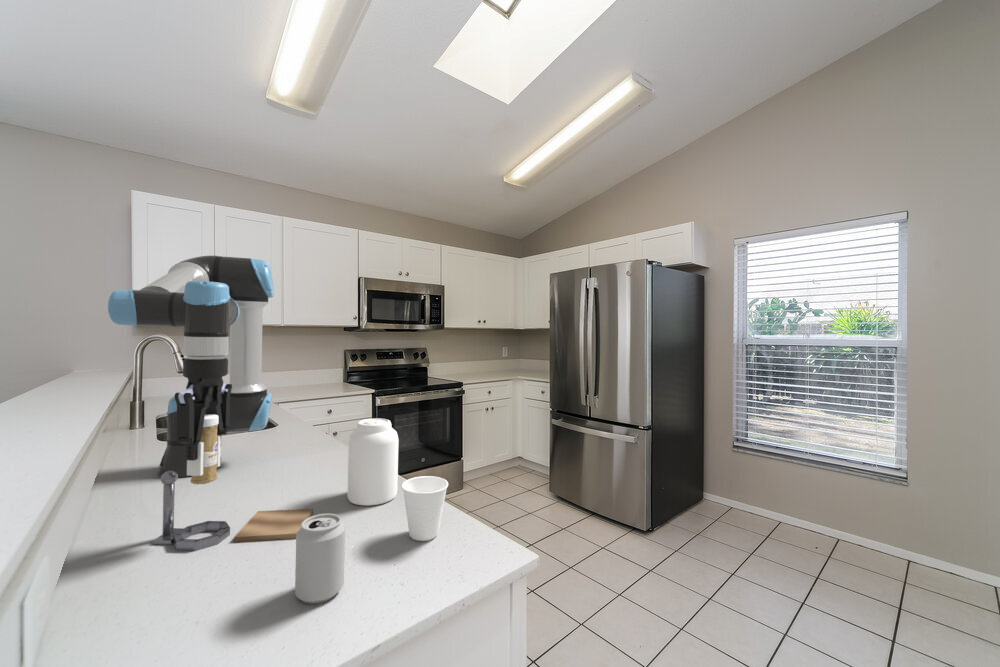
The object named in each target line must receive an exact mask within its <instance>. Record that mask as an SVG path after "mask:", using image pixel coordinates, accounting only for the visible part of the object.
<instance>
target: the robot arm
mask: <svg viewBox="0 0 1000 667" xmlns="http://www.w3.org/2000/svg"><path fill="white" fill-rule="evenodd" d="M274 288H275V287H274V280H273V273H272V268H271V266H270V264H269V263H268V261H267V260H263V259H256V258H251V257H249V258H248V257H234V256H233V257H232V256H219V255H203V256H202V255H201V256H196V257H192V258H187V259H185V260H182V261H180V262H177V263H175V264H174V265H172V266H171V267H170V268H169V269H168V272H167V273H166V274H164V275H163V276H161V277H159V278H157V279H156V280H154V281H153V282H151V283H149V284H147V285H145V286H144V287H143V288H141V289H138V290H137V289H131V288H129V289H116V290H114V291H113V292H111V294H110V296H109V297H108V301H107V310H108V316H109V318H110V320H111V321H112V322H113V323H114V324H116V325H119V326H133V327H140V326H141V327H179V328H180V327H183V356H184V357H186V358H184V360H182V376H183V377H184V378H186V379H187V380H188V381H187V384H186V387H185V390H183V391H182V392H175V394H174V396H173V397H171V398H170V399H169V401H168V403H167V411H166V414H167V415H166V416H167V418H166V419H167V420H166V424H167V425H166V426H167V429H166V448H165V450H164V453H163V455H162V456H161V460H160V463H159V464H158V475H159V476H160V477H161V476H162V475H163V474H164V473H165V472H167V471H175V472H176V473H177V474H178V478H187V477H192V476H201V475H203V454H204V442H200V440H201V435H202V429H203V423H204V417H205V415H206V414H215V415H218V417H219V423H218V426H217V469H219V468H221V466H222V455H221V451H222V450H221V448H222V435H227V434H228V433H236V432H237V433H238V432H251V431H261V430H263V429H265V428H266V427H267V424H268V421H269V417H270V412H271V407H272V401H273V400H272V399H273V394H272V393H271V392H268V389H267V386H266V385H265V384H264V383H263V382H262V378H263V376H262V375H263V373H262V372H263V371H262V368H263V356H262V355H263V313H264V307H265V306H267V305H268V304H269V299H271V298H273V297H274V295H275V292H274V291H275V290H274ZM229 332H230V333H229ZM228 355H229V359H228V358H226V356H228ZM228 373H229V383H224V380H223V377H226V376H227V375H228Z"/></svg>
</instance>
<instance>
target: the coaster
mask: <svg viewBox="0 0 1000 667" xmlns="http://www.w3.org/2000/svg"><path fill="white" fill-rule="evenodd" d="M313 513H314V508H302V509H301V508H299V509H298V508H297V509H280V510H279V509H278V510H259V511H258V510H257V512H256V513H255V514H254V515H253V516H252V517H251V518H250V519H249V521H248V522H247V523H246V524H245V525H244V526H243V527H242V528H241V529H240V530H239V531H238V532H237V534H235V536H234V537H233V540H234V541H233V542H234V543H238V542H239V543H240V542H241V543H243V542H257V541H258V542H259V541H272V540H273V541H274V540H290V539H293V540H294V539H296V534H297V532H298V531H299V529H300V528H301V524H302V522H303V521H304V520H306V519H307V518H309V517H312V516H313Z"/></svg>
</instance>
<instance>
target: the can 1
mask: <svg viewBox="0 0 1000 667" xmlns="http://www.w3.org/2000/svg"><path fill="white" fill-rule="evenodd" d="M342 521H343V520H342V517H341V516H339V515H338V514H335V513H318V514H315V515H311V517H309V518H307V519H306V520H304V521H303V522H302V524H301V528H300V529H299V531H298V532H297V534H296V538H295V569H294V573H295V577H294V579H295V580H294V581H295V582H294V593H295V596H296V598H298V599H299V600H301V601H302V602H303V603H306V604H311V605H312V604H321V603H324V602H327V601H329V600H331V599H332V598H333V597H335V596H336V595H337V594H338V593H339V592H340V591H341V590H342V589H343V587H344V583H345V558H346V557H345V553H346V549H345V548H346V526H345V524H344V523H343V522H342Z"/></svg>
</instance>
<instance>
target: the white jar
mask: <svg viewBox="0 0 1000 667" xmlns="http://www.w3.org/2000/svg"><path fill="white" fill-rule="evenodd" d="M399 439H400V438H399V435H398V432H397V431H396V430H395V429H394V428H393V427H392V422H391V420H389V419H386V418H381V417H380V418H377V417H375V418H374V417H373V418H365V419H362V420H360V421H358V422H357V425H356V429H355V430H353V432H351V433H350V437H349V438H348V458H347V459H348V462H347V469H348V470H347V499H348V501H349V503H352V504H354V505H358V506H367V507H368V506H378V505H382V504H386V503H388V502H390V501H392V500H393V499H394V498H396V497H397V494H398V478H399V476H398V475H399V442H400V441H399Z"/></svg>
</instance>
